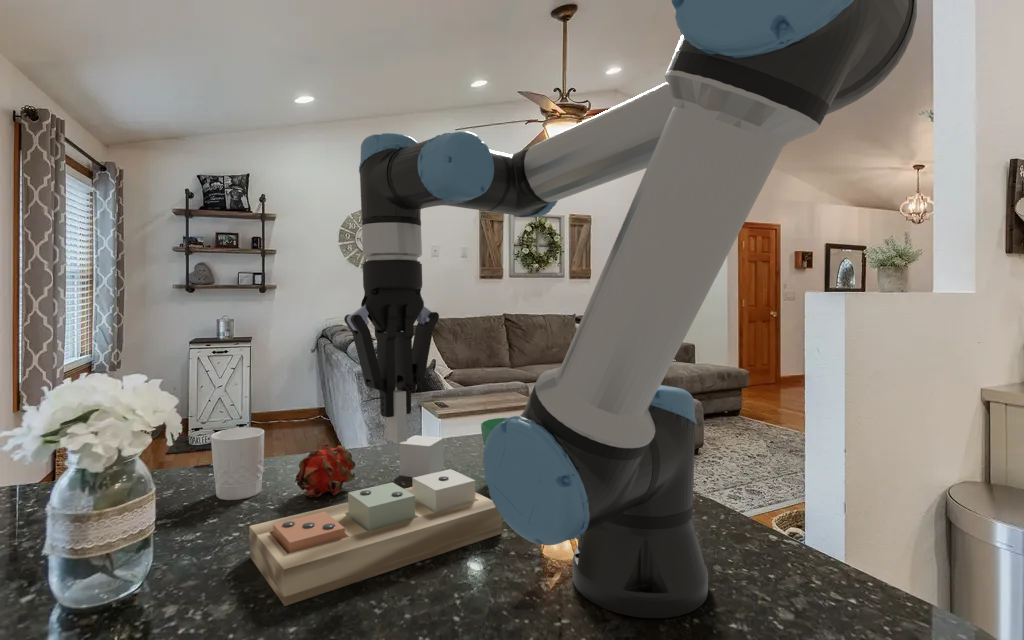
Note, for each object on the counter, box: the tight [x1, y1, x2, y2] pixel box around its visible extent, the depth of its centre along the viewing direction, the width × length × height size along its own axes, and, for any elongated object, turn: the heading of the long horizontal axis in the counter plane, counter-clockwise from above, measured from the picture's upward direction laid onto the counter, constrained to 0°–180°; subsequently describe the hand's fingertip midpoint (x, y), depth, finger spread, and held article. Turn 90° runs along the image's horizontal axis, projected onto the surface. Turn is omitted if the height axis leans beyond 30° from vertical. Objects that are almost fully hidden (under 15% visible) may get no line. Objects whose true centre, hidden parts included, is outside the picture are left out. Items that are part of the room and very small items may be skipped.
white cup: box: [210, 426, 265, 501], centre depth 93 cm, size 8×8×10 cm
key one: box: [411, 468, 476, 512], centre depth 80 cm, size 6×6×4 cm
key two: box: [347, 482, 415, 531], centre depth 75 cm, size 6×6×4 cm
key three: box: [273, 512, 345, 554], centre depth 69 cm, size 6×6×4 cm
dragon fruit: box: [294, 443, 356, 499], centre depth 93 cm, size 8×8×12 cm
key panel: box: [249, 486, 503, 607], centre depth 75 cm, size 14×29×4 cm, turn 128°
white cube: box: [398, 434, 445, 478], centre depth 104 cm, size 6×6×6 cm
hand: (396, 440), depth 75 cm, fingers closed
